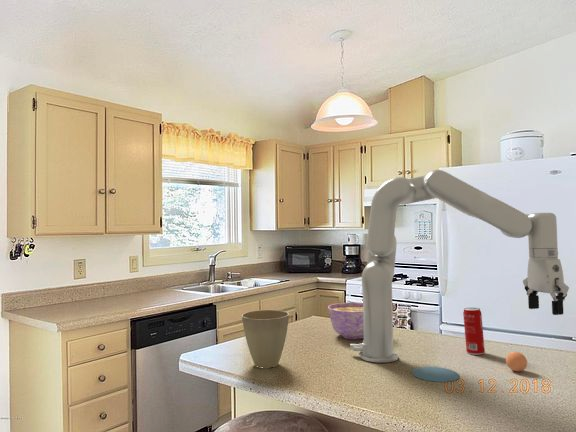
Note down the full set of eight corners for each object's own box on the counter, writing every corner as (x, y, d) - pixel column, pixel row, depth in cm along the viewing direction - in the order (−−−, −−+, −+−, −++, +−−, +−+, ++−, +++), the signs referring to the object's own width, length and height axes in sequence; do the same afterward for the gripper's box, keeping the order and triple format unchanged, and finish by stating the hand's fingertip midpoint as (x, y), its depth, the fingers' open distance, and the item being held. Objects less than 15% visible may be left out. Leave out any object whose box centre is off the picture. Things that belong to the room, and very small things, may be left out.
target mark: (414, 380, 127) (414, 380, 127) (410, 366, 140) (410, 365, 140) (463, 383, 124) (463, 382, 124) (454, 368, 137) (454, 367, 137)
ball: (509, 373, 132) (509, 354, 132) (503, 367, 137) (503, 349, 138) (530, 374, 131) (529, 355, 131) (523, 368, 136) (523, 349, 137)
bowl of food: (323, 331, 186) (323, 303, 186) (371, 329, 188) (370, 301, 188) (333, 344, 166) (333, 312, 166) (386, 342, 168) (386, 310, 169)
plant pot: (262, 355, 153) (261, 308, 153) (298, 362, 144) (298, 312, 145) (232, 367, 141) (231, 315, 141) (270, 375, 132) (269, 321, 132)
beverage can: (486, 355, 150) (485, 310, 150) (465, 355, 151) (464, 309, 151) (482, 351, 156) (481, 307, 156) (462, 350, 157) (461, 306, 157)
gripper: (577, 255, 128) (579, 316, 127) (533, 252, 145) (535, 305, 144) (554, 256, 126) (556, 317, 126) (512, 252, 143) (514, 307, 143)
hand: (545, 311), depth 135 cm, fingers open, 9 cm apart
